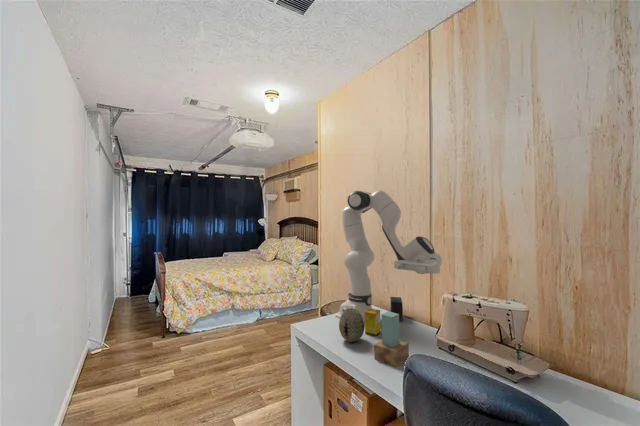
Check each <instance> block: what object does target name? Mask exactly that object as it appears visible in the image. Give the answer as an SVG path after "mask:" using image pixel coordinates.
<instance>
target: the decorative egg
mask: <svg viewBox="0 0 640 426" xmlns="http://www.w3.org/2000/svg"><path fill="white" fill-rule="evenodd" d="M338 329H339V332H340V333H339V334H340V336H341V337H342V338H343V339H344V340H346V341H348V342H351V343H353V342H357V341H359V340H361V338H362V337H363V335H364V334H365V323H364V321H363V318H362V315H361V314H360V313H359V312H358V311H357V310H356V309H354V308H349V309H346V310H345V311H344V312H343V313H342V315H341V317H340V318H339V321H338Z"/></svg>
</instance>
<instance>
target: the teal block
mask: <svg viewBox="0 0 640 426" xmlns="http://www.w3.org/2000/svg"><path fill="white" fill-rule="evenodd" d="M380 317H381V340H382V344H384V345H387V346H389V347H392V348H393V347H395V346H397V345H398V344H400V341H401V339H400V337H401V336H400V321H399V314H397V313H393V312H391V311H386V312H383V313H380Z"/></svg>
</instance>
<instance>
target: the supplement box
mask: <svg viewBox="0 0 640 426" xmlns="http://www.w3.org/2000/svg"><path fill="white" fill-rule="evenodd" d="M380 333H382V322H381V310H380V309H376V308H372V309H371V308H369V309H368V310H366V311H365V323H364V334H365V335H370V336H373V337H377V336H378V335H379V334H380Z"/></svg>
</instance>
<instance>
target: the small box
mask: <svg viewBox="0 0 640 426" xmlns="http://www.w3.org/2000/svg"><path fill="white" fill-rule="evenodd" d="M403 308H404V306H403V300H402V297H399V296H390V312H393V313H397V314H399V322H403V320H404V319H403V318H404V316H403V314H404V313H403V312H404V311H403Z"/></svg>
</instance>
